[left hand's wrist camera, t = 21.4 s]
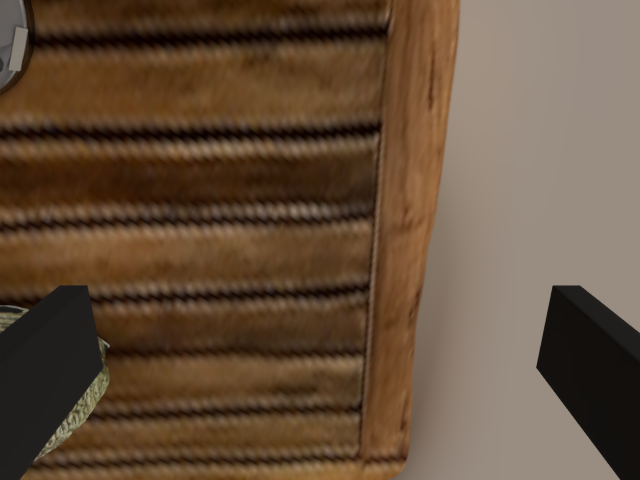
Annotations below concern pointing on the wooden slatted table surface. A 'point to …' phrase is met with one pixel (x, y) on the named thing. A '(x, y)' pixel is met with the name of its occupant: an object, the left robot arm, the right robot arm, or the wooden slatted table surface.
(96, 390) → the fossil
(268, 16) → the wooden slatted table surface
